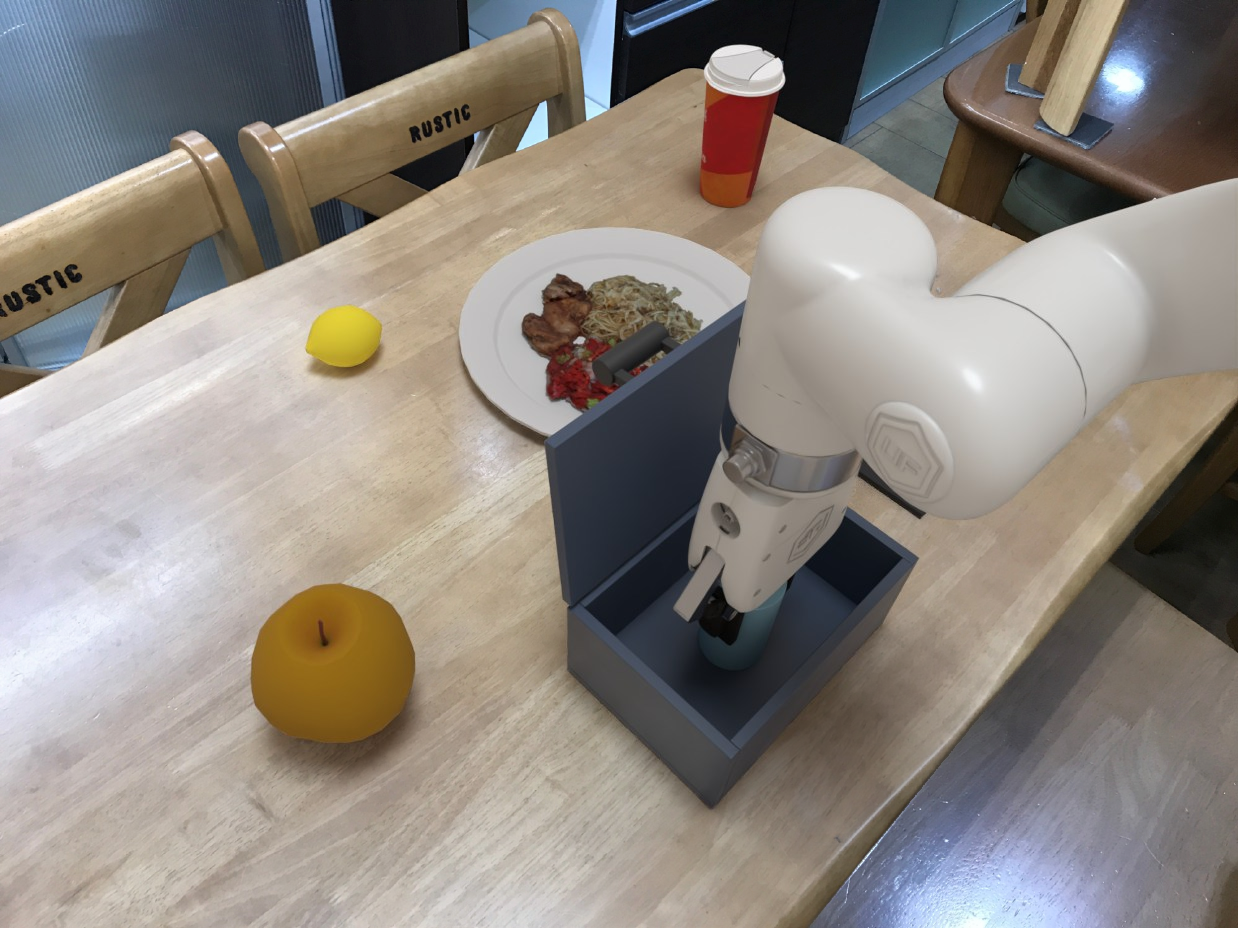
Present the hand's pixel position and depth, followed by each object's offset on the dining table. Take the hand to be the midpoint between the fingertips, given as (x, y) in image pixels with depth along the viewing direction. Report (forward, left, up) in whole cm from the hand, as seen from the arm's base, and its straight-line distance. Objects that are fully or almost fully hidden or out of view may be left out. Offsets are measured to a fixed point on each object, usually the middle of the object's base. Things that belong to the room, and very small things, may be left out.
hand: (742, 601), depth 59 cm
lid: (+7, 0, +10) cm, 12 cm away
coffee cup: (+37, -43, -6) cm, 57 cm away
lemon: (+43, +3, -6) cm, 44 cm away
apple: (+15, +22, -6) cm, 27 cm away
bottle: (0, 0, -5) cm, 5 cm away
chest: (0, 0, -6) cm, 6 cm away
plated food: (+28, -17, -6) cm, 33 cm away
